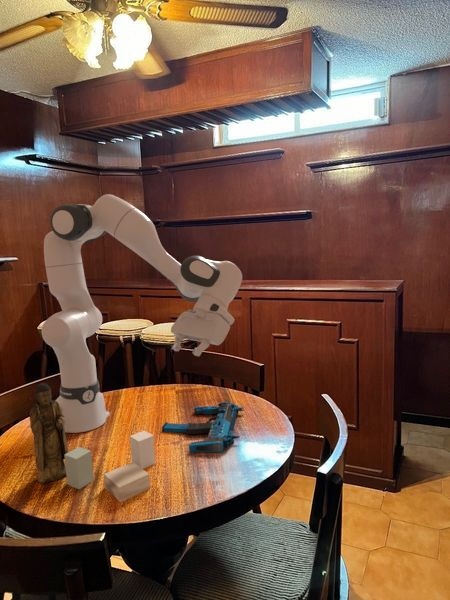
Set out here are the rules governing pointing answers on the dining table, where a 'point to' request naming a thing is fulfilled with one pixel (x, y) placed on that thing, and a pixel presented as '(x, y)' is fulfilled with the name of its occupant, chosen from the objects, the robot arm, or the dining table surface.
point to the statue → (48, 435)
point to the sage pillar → (79, 467)
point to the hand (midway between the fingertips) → (184, 352)
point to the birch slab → (127, 481)
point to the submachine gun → (210, 427)
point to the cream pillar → (142, 449)
